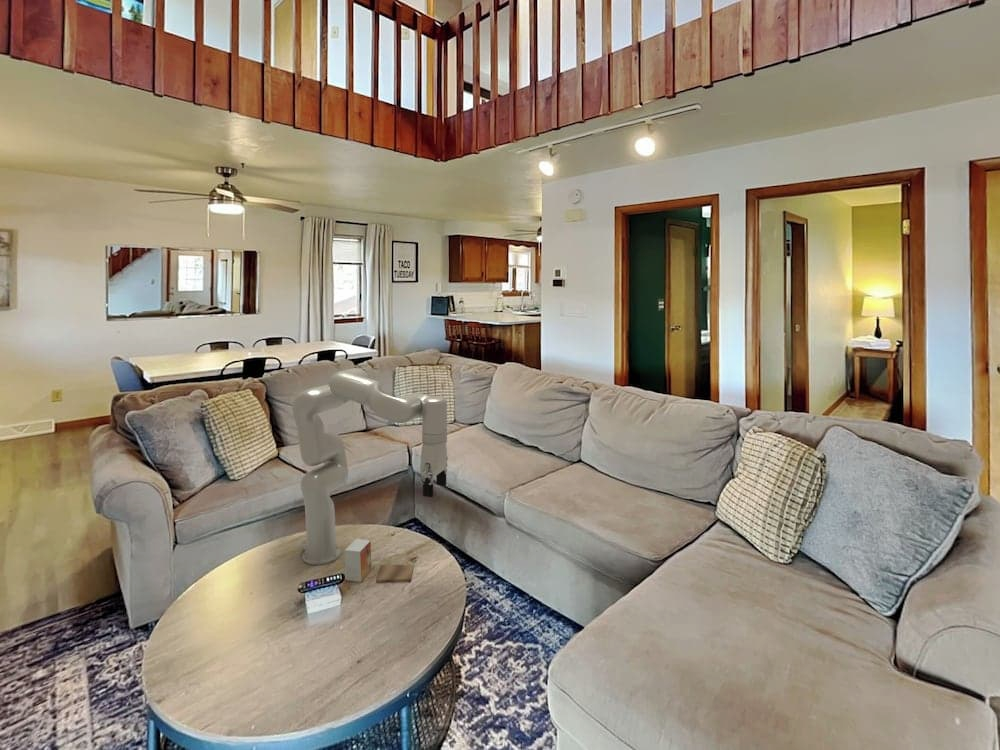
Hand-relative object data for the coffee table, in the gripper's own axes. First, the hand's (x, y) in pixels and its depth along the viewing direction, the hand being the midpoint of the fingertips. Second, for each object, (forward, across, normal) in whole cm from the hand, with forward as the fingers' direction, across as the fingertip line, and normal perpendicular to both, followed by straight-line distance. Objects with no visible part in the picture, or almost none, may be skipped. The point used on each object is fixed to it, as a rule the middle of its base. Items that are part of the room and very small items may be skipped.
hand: (434, 490), depth 163 cm
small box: (+31, +4, -26) cm, 40 cm away
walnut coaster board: (+31, 0, -14) cm, 34 cm away
